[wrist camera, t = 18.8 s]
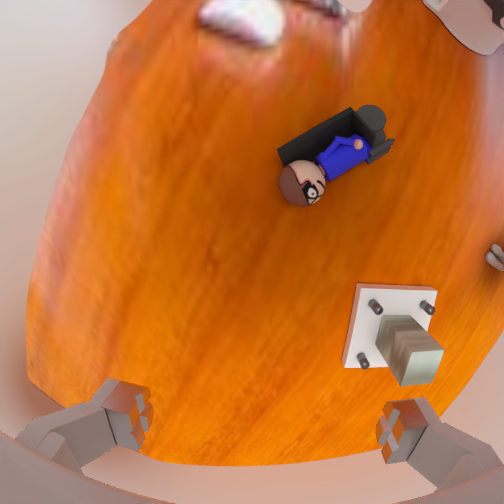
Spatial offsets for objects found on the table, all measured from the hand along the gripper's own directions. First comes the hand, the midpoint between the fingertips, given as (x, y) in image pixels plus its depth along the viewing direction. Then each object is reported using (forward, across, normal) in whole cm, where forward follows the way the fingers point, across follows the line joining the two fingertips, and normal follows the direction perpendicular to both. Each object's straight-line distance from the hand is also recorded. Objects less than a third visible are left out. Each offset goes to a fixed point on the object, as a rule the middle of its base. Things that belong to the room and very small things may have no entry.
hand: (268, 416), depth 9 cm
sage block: (+27, -18, +10) cm, 34 cm away
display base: (+29, -18, +10) cm, 36 cm away
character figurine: (+29, -6, -12) cm, 32 cm away
